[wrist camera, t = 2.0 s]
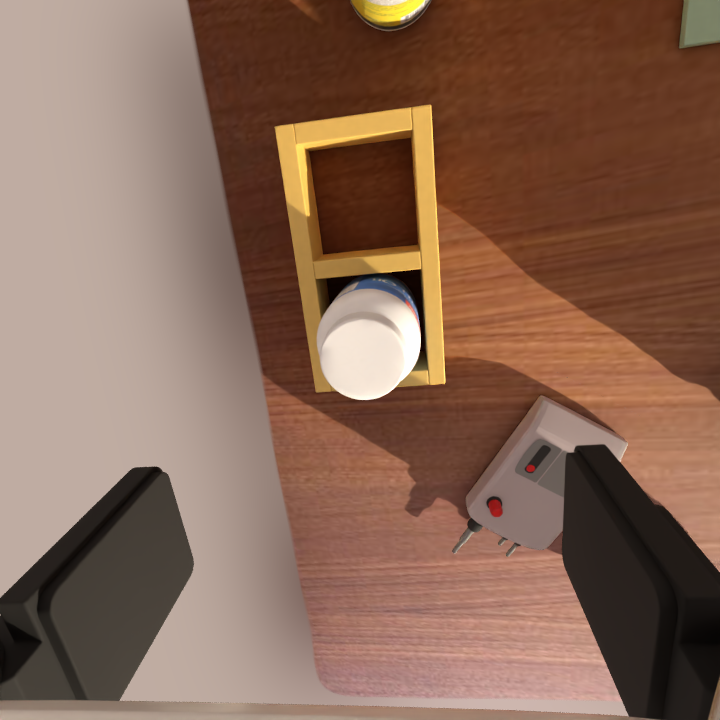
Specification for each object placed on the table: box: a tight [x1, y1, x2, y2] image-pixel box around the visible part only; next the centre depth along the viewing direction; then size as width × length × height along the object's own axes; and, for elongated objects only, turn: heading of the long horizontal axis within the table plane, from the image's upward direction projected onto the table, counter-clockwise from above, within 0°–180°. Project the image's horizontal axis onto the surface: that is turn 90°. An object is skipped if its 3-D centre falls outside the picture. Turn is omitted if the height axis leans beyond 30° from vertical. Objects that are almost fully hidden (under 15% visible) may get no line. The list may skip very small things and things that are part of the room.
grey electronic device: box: [452, 377, 640, 557], centre depth 31 cm, size 7×16×3 cm, turn 153°
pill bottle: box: [317, 273, 421, 400], centre depth 25 cm, size 6×5×10 cm
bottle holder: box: [275, 105, 445, 392], centre depth 27 cm, size 8×15×4 cm, turn 6°
